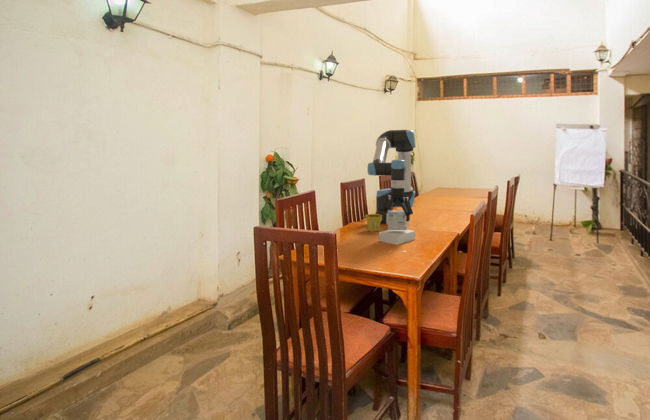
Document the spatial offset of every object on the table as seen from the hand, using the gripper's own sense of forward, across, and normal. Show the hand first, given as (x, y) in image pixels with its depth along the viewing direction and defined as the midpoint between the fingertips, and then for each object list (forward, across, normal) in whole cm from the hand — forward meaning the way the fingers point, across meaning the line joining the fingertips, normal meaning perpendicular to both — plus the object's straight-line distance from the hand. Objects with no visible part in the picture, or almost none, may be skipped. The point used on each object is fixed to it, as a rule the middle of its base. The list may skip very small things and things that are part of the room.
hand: (397, 225), depth 229 cm
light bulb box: (+3, 0, 0) cm, 3 cm away
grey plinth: (+9, 0, 0) cm, 9 cm away
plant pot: (+9, -27, +12) cm, 31 cm away
